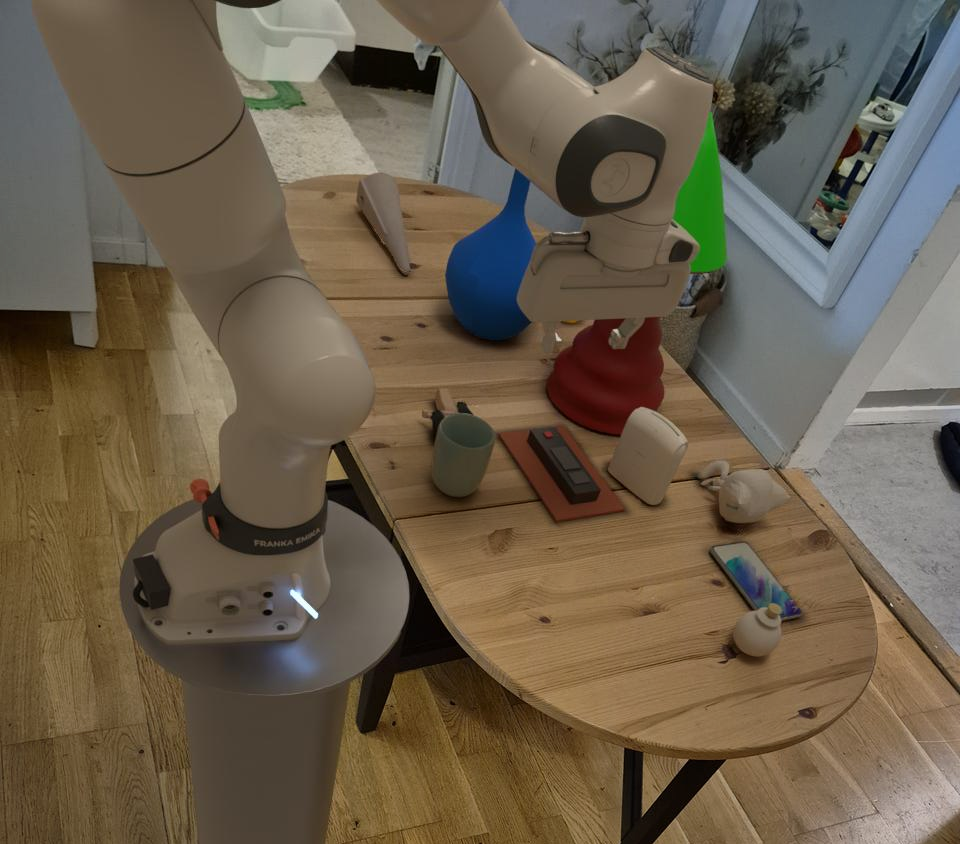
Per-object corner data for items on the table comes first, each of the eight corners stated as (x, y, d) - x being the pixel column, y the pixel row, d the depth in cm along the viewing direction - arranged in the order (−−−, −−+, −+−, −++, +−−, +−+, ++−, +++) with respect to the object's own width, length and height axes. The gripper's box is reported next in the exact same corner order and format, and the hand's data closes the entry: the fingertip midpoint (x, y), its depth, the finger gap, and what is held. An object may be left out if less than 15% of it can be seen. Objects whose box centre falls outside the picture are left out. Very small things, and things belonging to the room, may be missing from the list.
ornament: (718, 632, 112) (751, 581, 104) (763, 627, 114) (799, 578, 107) (737, 667, 108) (774, 618, 101) (784, 662, 111) (823, 614, 103)
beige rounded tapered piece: (673, 506, 134) (734, 533, 122) (679, 456, 131) (743, 478, 118) (720, 501, 138) (785, 526, 126) (727, 451, 134) (795, 472, 122)
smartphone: (746, 540, 124) (805, 613, 116) (743, 544, 125) (801, 617, 117) (708, 545, 121) (766, 621, 113) (706, 549, 122) (763, 625, 114)
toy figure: (408, 405, 130) (441, 464, 121) (418, 370, 125) (453, 427, 117) (448, 408, 133) (484, 464, 124) (459, 373, 129) (497, 429, 120)
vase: (532, 308, 157) (579, 139, 135) (539, 362, 145) (592, 186, 123) (437, 290, 154) (469, 114, 131) (437, 344, 142) (472, 160, 120)
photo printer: (601, 470, 129) (629, 403, 120) (619, 462, 132) (647, 396, 122) (649, 509, 125) (681, 444, 116) (666, 500, 128) (699, 436, 119)
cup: (491, 491, 120) (507, 436, 113) (455, 512, 116) (469, 456, 108) (452, 462, 123) (466, 406, 115) (416, 481, 118) (427, 424, 111)
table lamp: (678, 420, 143) (811, 140, 109) (600, 449, 133) (720, 150, 99) (601, 358, 151) (703, 78, 117) (522, 380, 140) (609, 81, 107)
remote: (596, 501, 123) (601, 488, 121) (570, 505, 121) (575, 492, 120) (551, 438, 131) (555, 425, 129) (526, 440, 129) (530, 428, 127)
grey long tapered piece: (448, 254, 154) (401, 173, 165) (406, 254, 150) (360, 171, 161) (438, 291, 160) (393, 210, 171) (397, 291, 157) (354, 208, 167)
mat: (556, 522, 119) (556, 519, 119) (498, 435, 129) (498, 432, 129) (623, 511, 124) (624, 508, 124) (562, 428, 134) (563, 425, 134)
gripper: (552, 247, 82) (518, 369, 92) (712, 247, 90) (664, 358, 100) (525, 216, 85) (495, 337, 95) (681, 219, 93) (638, 329, 104)
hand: (583, 348), depth 98 cm, fingers open, 8 cm apart
